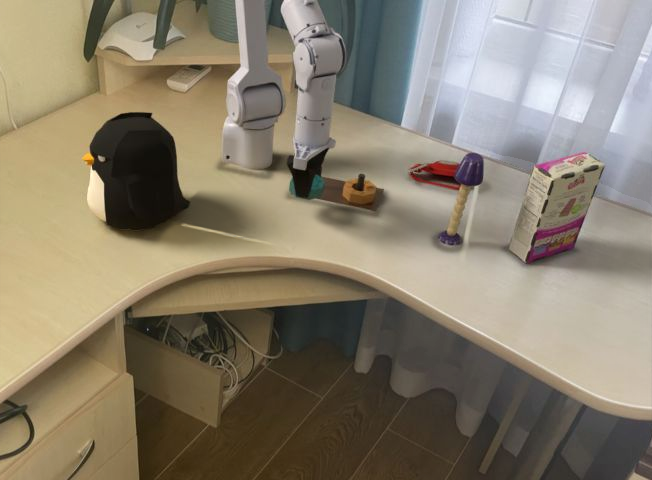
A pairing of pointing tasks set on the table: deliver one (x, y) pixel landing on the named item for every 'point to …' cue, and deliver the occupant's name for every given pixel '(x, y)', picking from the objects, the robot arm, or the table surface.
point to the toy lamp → (463, 194)
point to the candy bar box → (555, 206)
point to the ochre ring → (359, 192)
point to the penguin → (134, 173)
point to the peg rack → (335, 193)
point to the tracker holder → (435, 171)
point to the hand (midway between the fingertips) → (306, 187)
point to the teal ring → (316, 188)
